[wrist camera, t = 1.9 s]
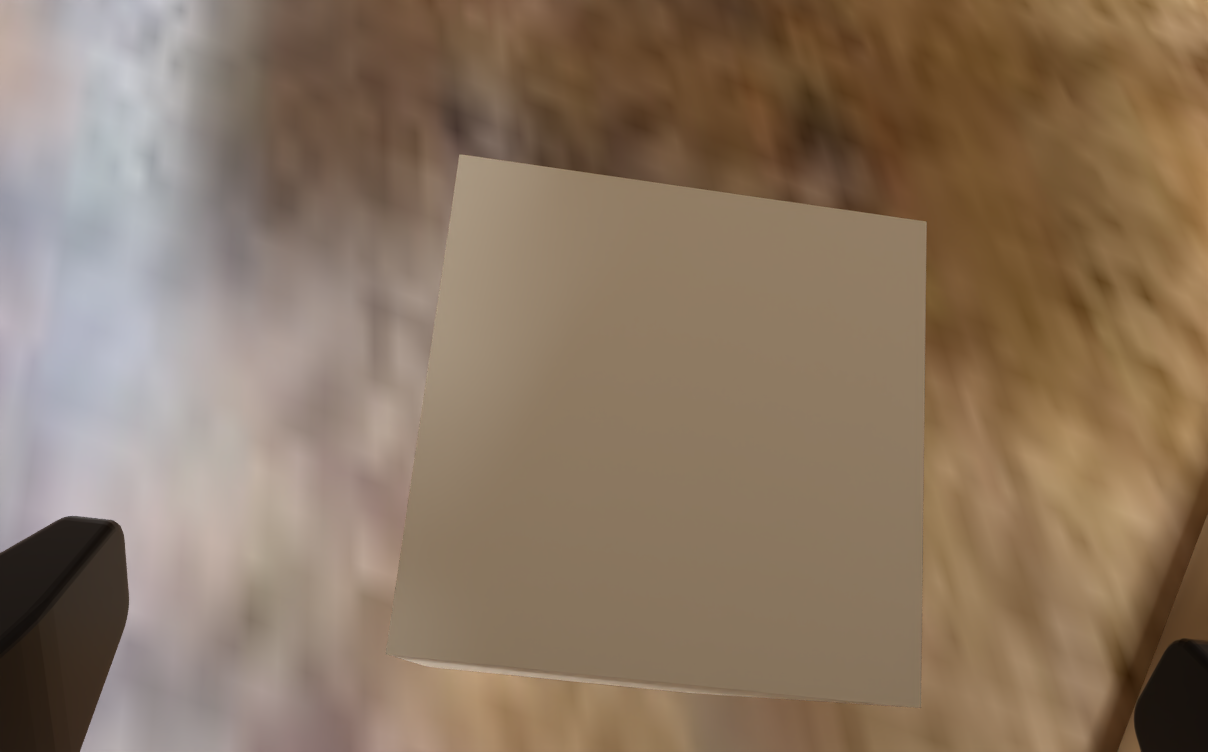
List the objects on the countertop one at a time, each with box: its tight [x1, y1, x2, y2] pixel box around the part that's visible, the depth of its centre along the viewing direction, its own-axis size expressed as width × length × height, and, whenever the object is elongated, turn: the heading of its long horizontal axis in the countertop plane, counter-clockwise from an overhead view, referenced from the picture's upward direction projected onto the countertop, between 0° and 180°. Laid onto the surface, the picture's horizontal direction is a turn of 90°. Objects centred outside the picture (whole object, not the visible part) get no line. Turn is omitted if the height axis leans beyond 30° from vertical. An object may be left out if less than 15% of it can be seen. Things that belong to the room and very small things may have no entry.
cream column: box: [386, 154, 927, 708], centre depth 14 cm, size 4×4×10 cm
